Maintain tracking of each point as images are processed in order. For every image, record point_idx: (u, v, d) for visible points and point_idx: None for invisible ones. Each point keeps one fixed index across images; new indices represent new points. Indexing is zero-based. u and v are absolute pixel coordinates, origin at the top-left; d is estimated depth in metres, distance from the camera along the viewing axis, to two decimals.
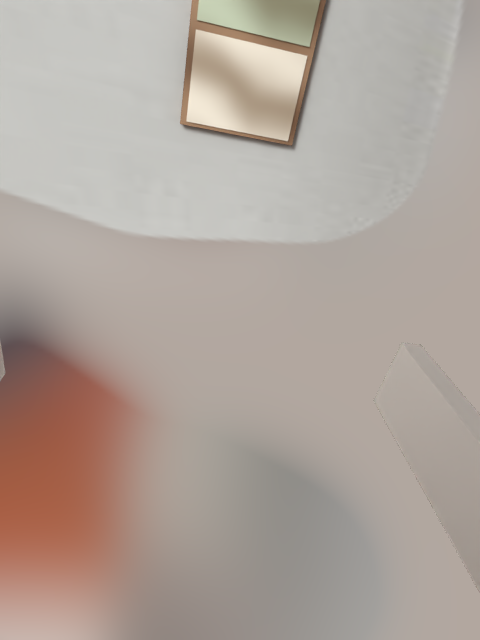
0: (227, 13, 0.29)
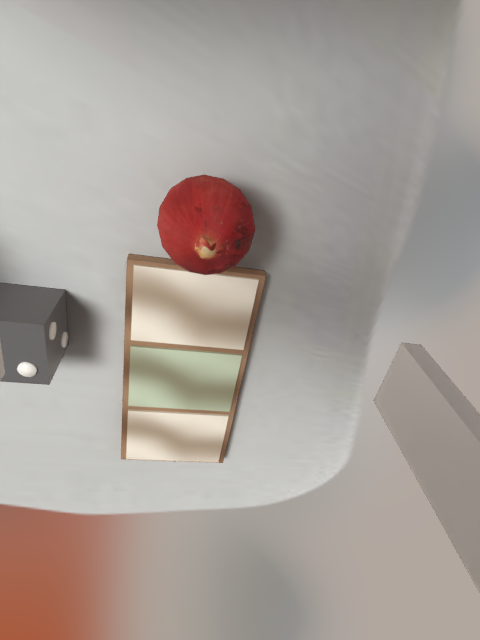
0: (154, 400, 0.34)
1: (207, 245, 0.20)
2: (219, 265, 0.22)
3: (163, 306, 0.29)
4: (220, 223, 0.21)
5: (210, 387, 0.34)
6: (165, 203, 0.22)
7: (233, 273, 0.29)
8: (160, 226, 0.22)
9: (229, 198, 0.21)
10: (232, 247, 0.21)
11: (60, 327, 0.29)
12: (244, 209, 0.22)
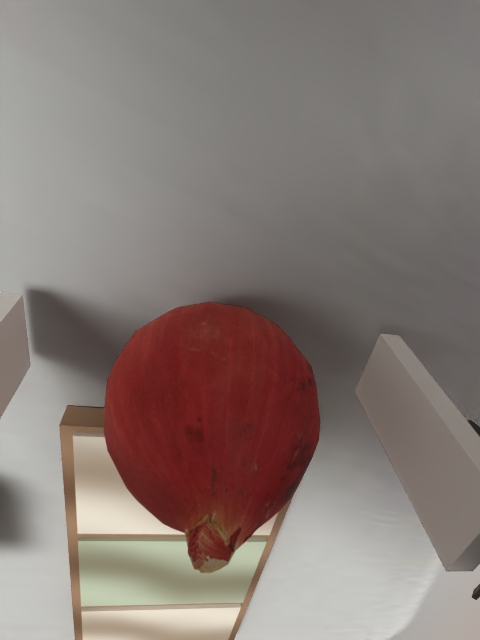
0: (123, 598, 0.21)
1: (218, 551, 0.07)
2: None
3: None
4: (253, 468, 0.08)
5: (213, 579, 0.21)
6: (116, 385, 0.09)
7: None
8: (106, 432, 0.10)
9: (272, 390, 0.09)
10: (278, 505, 0.09)
11: None
12: (305, 399, 0.09)
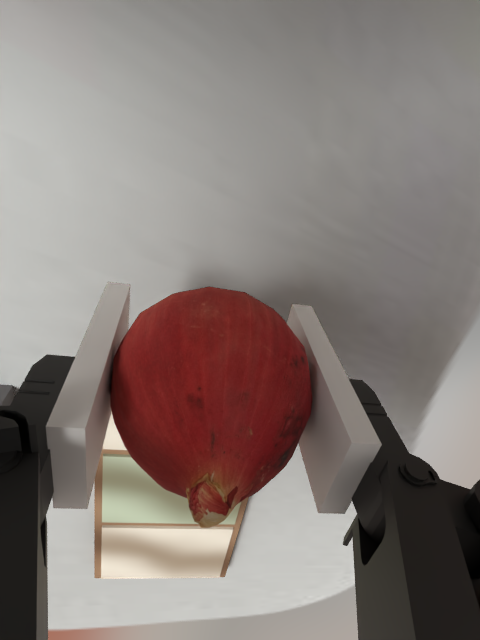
0: (136, 515, 0.26)
1: (217, 506, 0.08)
2: None
3: None
4: (248, 433, 0.09)
5: None
6: (122, 361, 0.10)
7: None
8: (112, 405, 0.10)
9: (266, 364, 0.09)
10: (272, 471, 0.09)
11: None
12: (297, 374, 0.10)
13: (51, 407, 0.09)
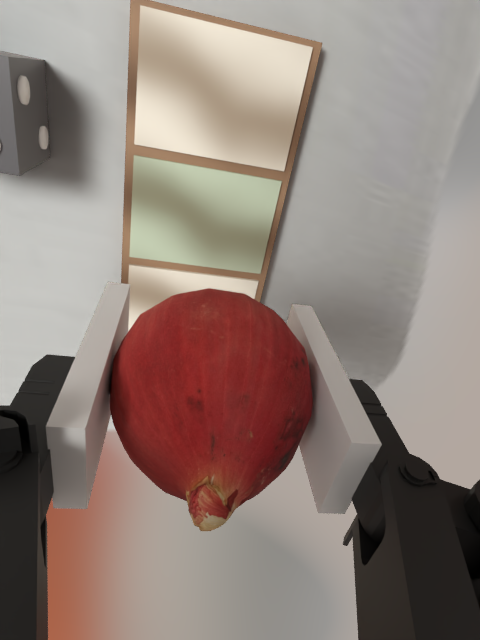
0: (164, 249, 0.26)
1: (217, 510, 0.08)
2: None
3: (180, 87, 0.21)
4: (249, 435, 0.09)
5: (237, 232, 0.26)
6: (122, 363, 0.10)
7: (278, 34, 0.21)
8: (112, 407, 0.10)
9: (266, 366, 0.09)
10: (272, 473, 0.09)
11: (37, 109, 0.21)
12: (298, 376, 0.10)
13: (51, 407, 0.09)
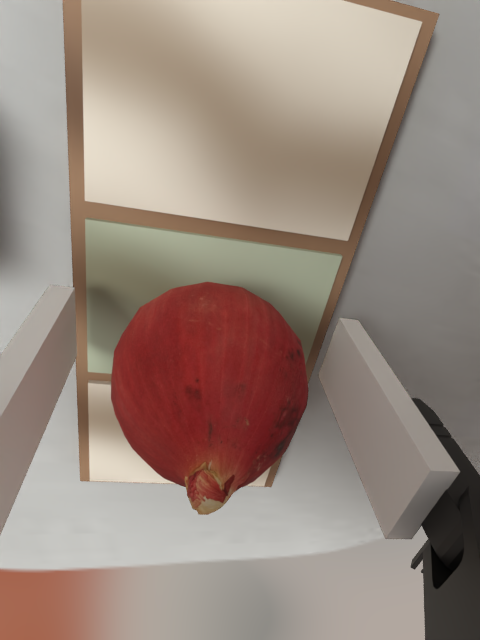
0: None
1: (214, 493, 0.08)
2: None
3: (167, 98, 0.11)
4: (245, 423, 0.09)
5: None
6: (123, 354, 0.10)
7: None
8: (113, 397, 0.11)
9: (262, 356, 0.10)
10: (268, 460, 0.10)
11: None
12: (294, 367, 0.10)
13: None
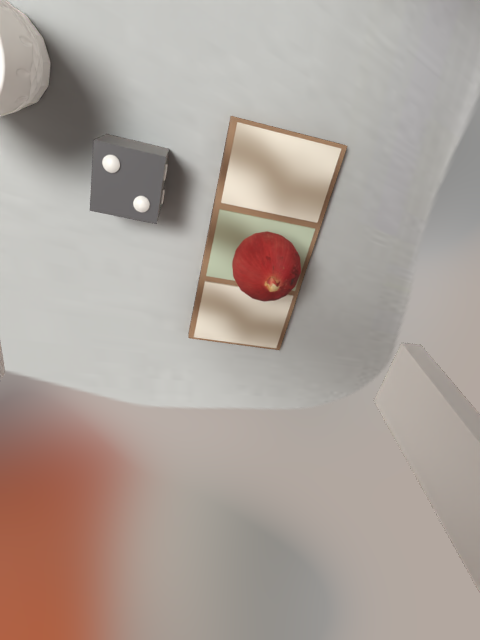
0: (230, 271, 0.37)
1: (275, 283, 0.30)
2: (278, 295, 0.32)
3: (255, 169, 0.33)
4: (283, 267, 0.30)
5: None
6: (242, 251, 0.32)
7: (320, 140, 0.32)
8: (237, 267, 0.32)
9: (287, 250, 0.31)
10: (288, 283, 0.31)
11: None
12: (296, 257, 0.32)
13: None
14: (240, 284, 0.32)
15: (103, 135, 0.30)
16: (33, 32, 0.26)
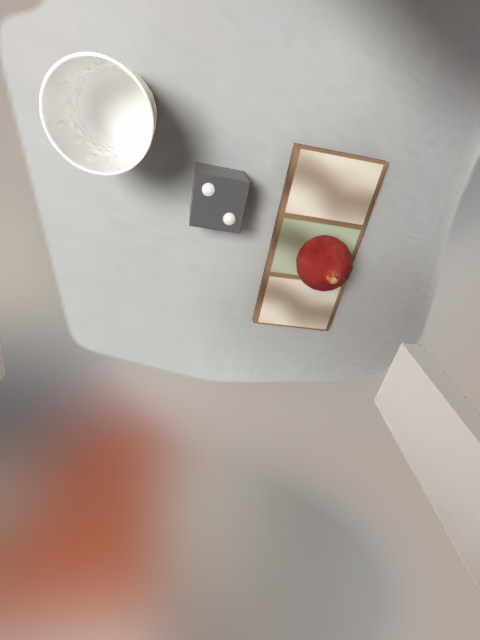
0: (290, 267, 0.45)
1: (335, 277, 0.38)
2: (335, 286, 0.40)
3: (314, 184, 0.41)
4: (340, 264, 0.38)
5: None
6: (306, 252, 0.40)
7: (366, 159, 0.40)
8: (302, 264, 0.40)
9: (343, 250, 0.39)
10: (344, 277, 0.39)
11: None
12: (350, 255, 0.40)
13: None
14: (304, 278, 0.40)
15: (196, 165, 0.38)
16: None
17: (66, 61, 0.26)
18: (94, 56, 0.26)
